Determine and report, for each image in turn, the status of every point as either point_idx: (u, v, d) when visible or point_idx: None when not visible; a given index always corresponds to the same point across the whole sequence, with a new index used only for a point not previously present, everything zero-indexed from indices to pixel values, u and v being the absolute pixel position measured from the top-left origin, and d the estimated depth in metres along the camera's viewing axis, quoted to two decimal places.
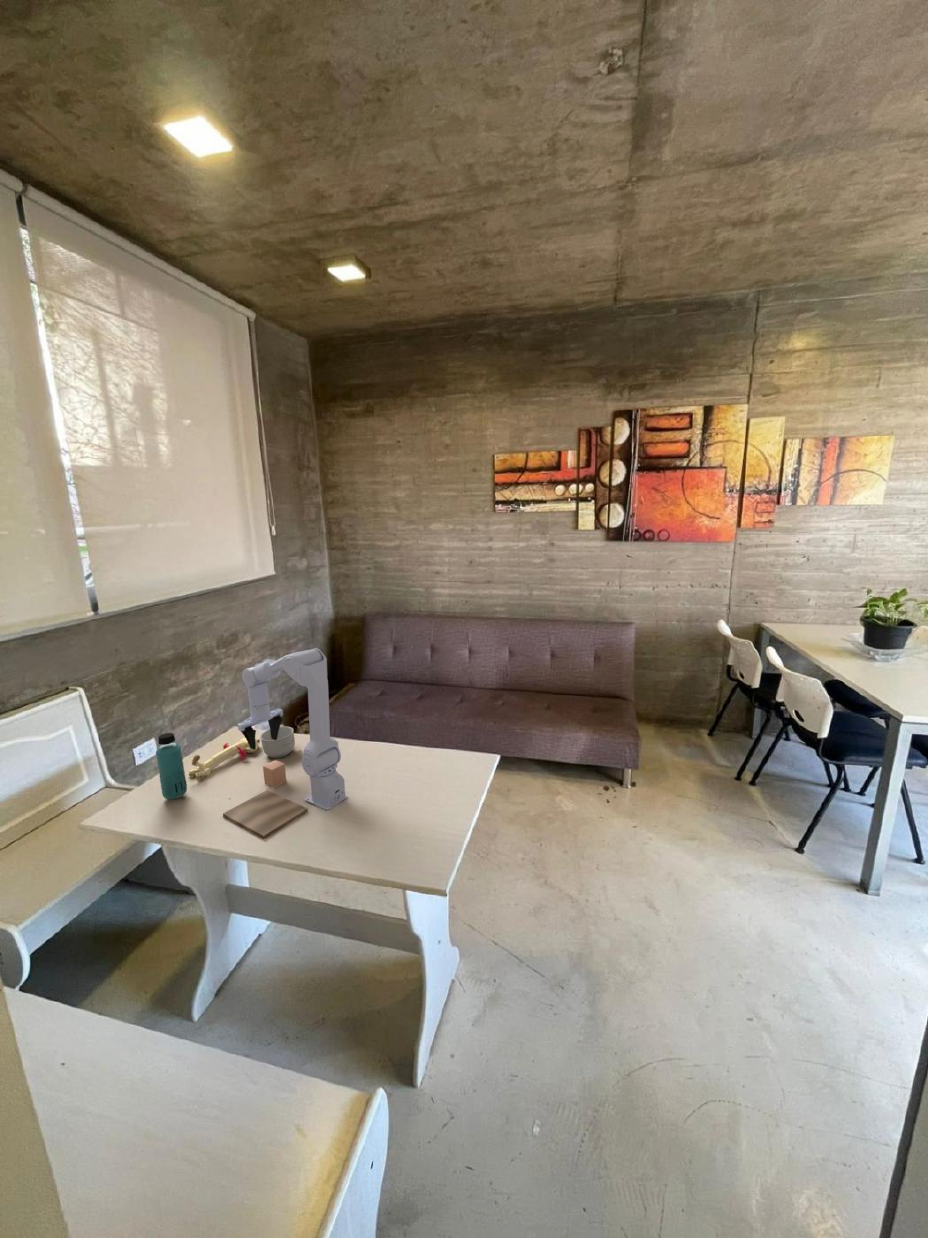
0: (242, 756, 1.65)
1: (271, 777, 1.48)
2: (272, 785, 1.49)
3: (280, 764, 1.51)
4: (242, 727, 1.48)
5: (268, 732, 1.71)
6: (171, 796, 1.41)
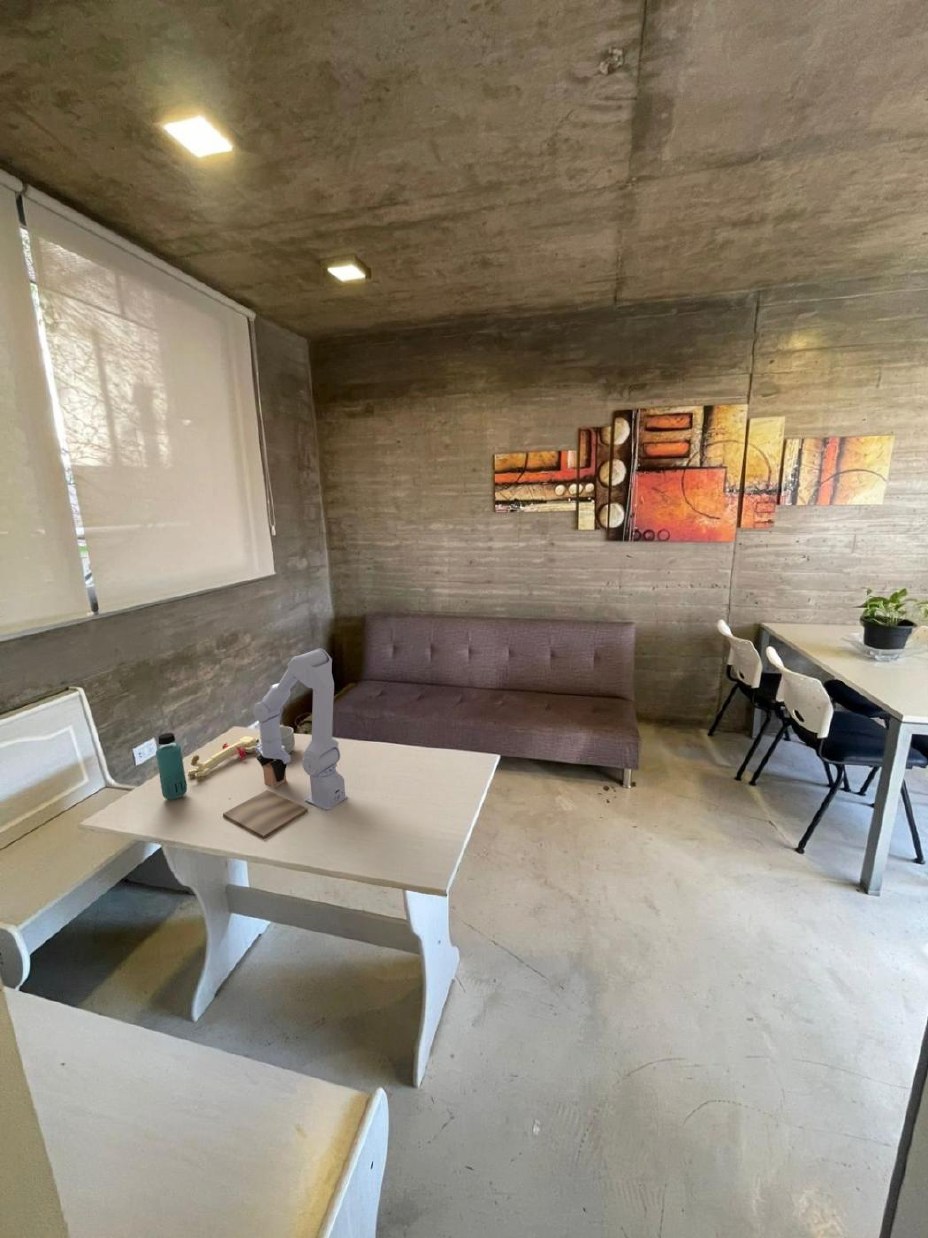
0: (241, 756, 1.64)
1: (271, 777, 1.48)
2: (272, 785, 1.49)
3: None
4: (255, 748, 1.52)
5: None
6: (171, 796, 1.41)
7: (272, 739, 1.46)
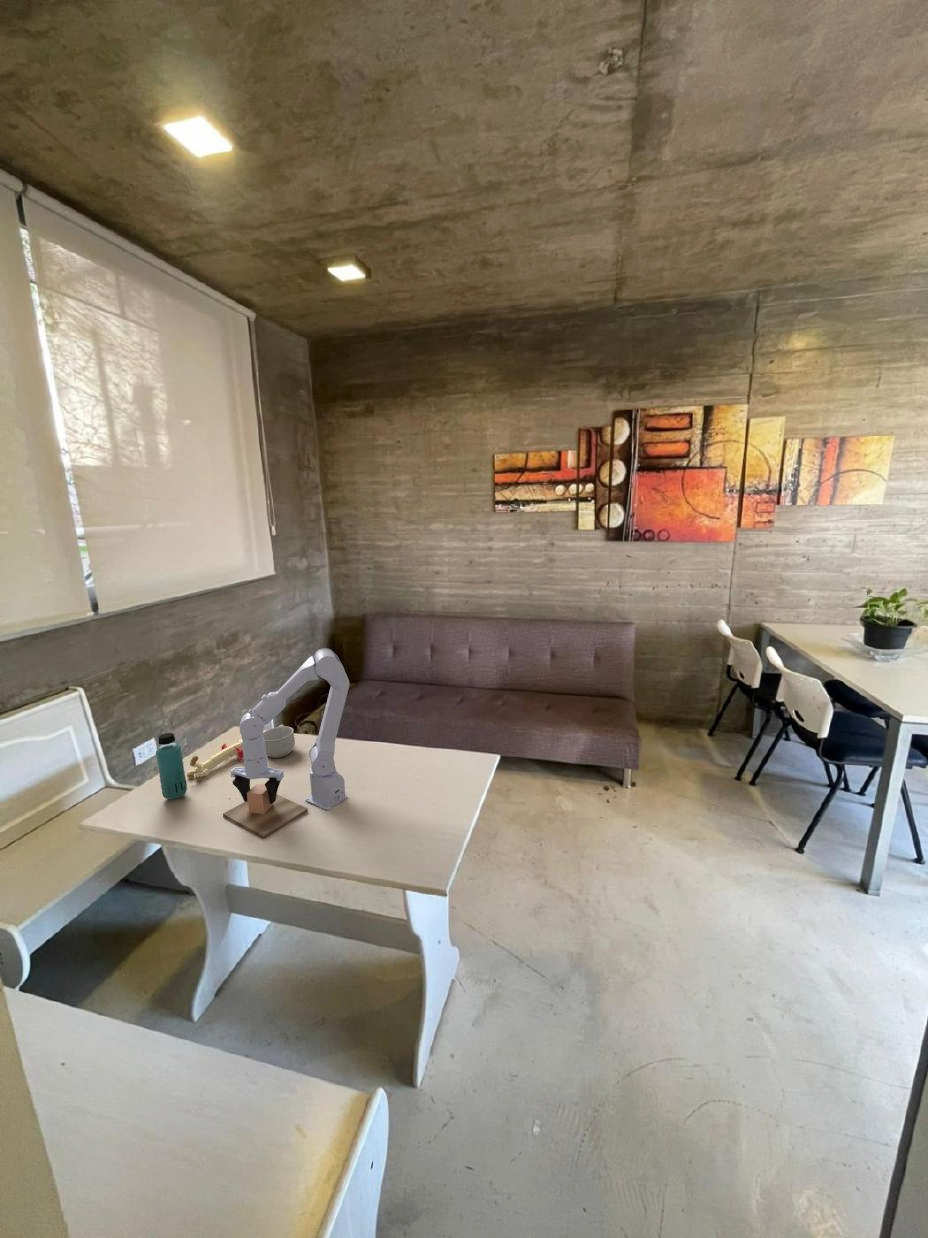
0: (240, 757, 1.64)
1: (260, 802, 1.33)
2: (261, 811, 1.34)
3: None
4: (231, 773, 1.34)
5: (268, 732, 1.71)
6: (171, 796, 1.41)
7: (264, 755, 1.32)
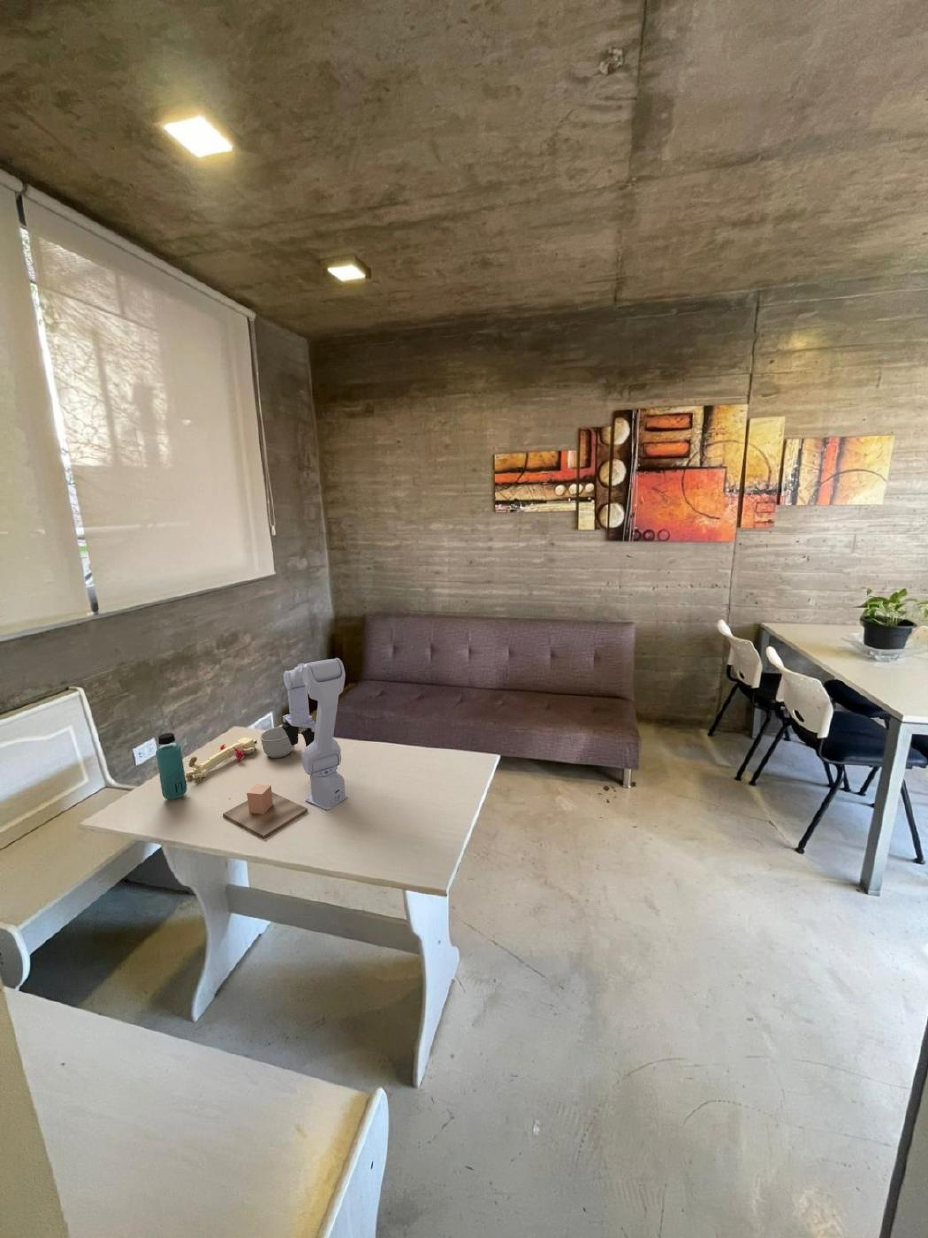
0: (239, 757, 1.64)
1: (260, 802, 1.33)
2: (261, 811, 1.34)
3: (266, 787, 1.36)
4: (283, 718, 1.55)
5: (268, 732, 1.71)
6: (171, 796, 1.41)
7: (296, 708, 1.48)
